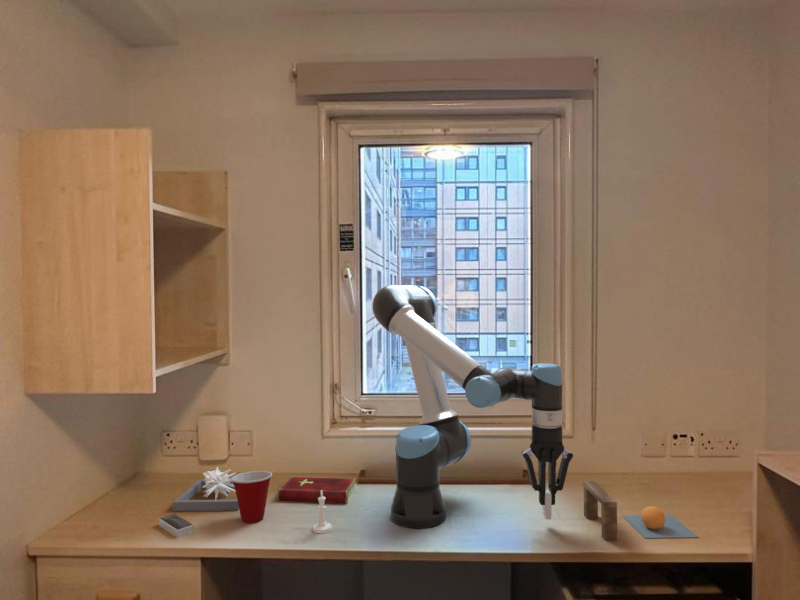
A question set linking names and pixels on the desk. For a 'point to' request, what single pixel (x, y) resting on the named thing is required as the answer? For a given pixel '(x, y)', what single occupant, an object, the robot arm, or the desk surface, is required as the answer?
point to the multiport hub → (176, 525)
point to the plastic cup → (252, 494)
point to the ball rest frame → (202, 501)
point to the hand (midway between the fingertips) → (547, 516)
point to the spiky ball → (217, 482)
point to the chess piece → (322, 517)
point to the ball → (653, 517)
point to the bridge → (608, 508)
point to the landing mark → (669, 529)
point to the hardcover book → (317, 489)
